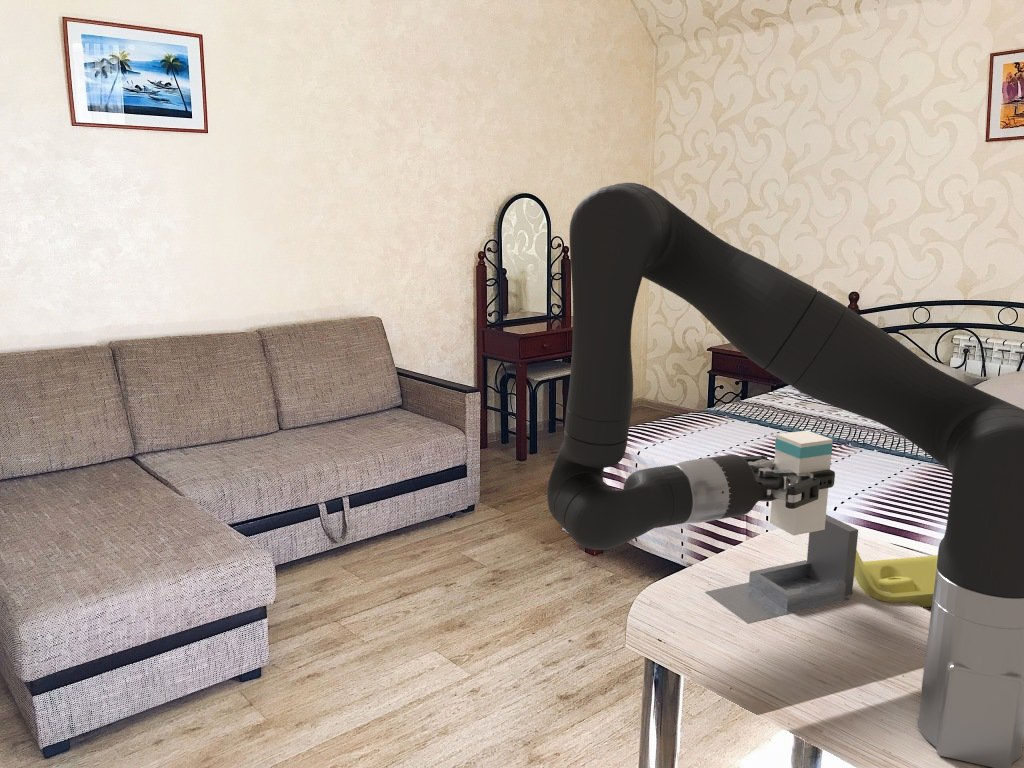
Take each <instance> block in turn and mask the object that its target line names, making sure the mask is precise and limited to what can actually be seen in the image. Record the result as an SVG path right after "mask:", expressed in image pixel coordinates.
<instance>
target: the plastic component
mask: <svg viewBox="0 0 1024 768" xmlns="http://www.w3.org/2000/svg"><path fill="white" fill-rule="evenodd" d="M937 558H938V554H936V555H925V556H913V557H903V558H901V557H898V558H890V559H879V560H878V559H877V560H876V559H875V560H867V561H863V560H862V558H861V556H860V554H859V552H858V550H857V549H856V560H855V570H854V578H855V580H856V581H857V584H858V586H859V587H860V589H861V590H862V591H863V592H864V593H865V594H866V595H867V596H869V597H871V598H872V599H876V600H877V601H882V602H887V603H888V602H889V603H896V602H897V603H898V602H899V603H900V602H902V603H903V602H911V603H912V604H915V605H916V606H918V607H920V608H928V607H930V608H932V600H933V593H934V585H935V577H936V568H937Z"/></svg>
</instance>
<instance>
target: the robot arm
mask: <svg viewBox="0 0 1024 768" xmlns="http://www.w3.org/2000/svg"><path fill="white" fill-rule="evenodd" d="M569 258H570V272H571V273H570V274H571V286H572V289H571V290H572V347H571V348H572V349H571V364H570V374H569V375H570V376H569V385H568V394H567V401H566V403H567V404H566V409H565V410H566V412H565V419H564V420H565V421H564V431H563V441H562V444H561V446H560V448H559V451H558V453H557V455H556V458H555V461H554V465H553V466H552V469H551V472H550V475H549V479H548V482H547V487H546V488H547V489H546V490H547V491H546V495H547V496H546V497H547V498H546V499H547V505H548V510H549V513H550V514H551V516H552V517H553V518H554V520H555V521H556V522H557V523H558V524H559V525H560V526H561V527H562V528H563V529H564V530H565V531H566V533H568V534H569V536H570V537H571V538H572V539H573V540H574V541H575V542H576V543H577V544H579V546H581V547H583V548H586V549H589V550H596V551H604V550H606V551H607V550H610V549H614V548H617V547H620V546H622V545H624V544H626V543H628V542H630V541H633V540H634V539H636V538H638V537H640V536H643V535H644V534H646V533H648V532H650V531H651V530H654V529H658V528H664V527H670V526H671V527H672V526H675V525H682V524H683V525H684V524H701V523H707V522H712V521H718V520H724V519H730V518H735V517H740V516H741V517H742V516H745V515H748V514H749V513H750V512H751V511H752V510H753V509H754V508H755V506H756V504H757V503H758V502H766V503H767V502H771V501H772V500H775V499H782V500H785V501H786V504H785V507H786V508H789V509H795V508H797V507H800V506H802V505H805V504H807V503H810V502H812V501H815V500H817V499H818V496H819V490H820V489H825V488H828V489H830V488H833V487H834V485H835V477H836V473H835V470H831V468H830V469H828V470H822V471H816V472H807V473H795V472H793V471H792V470H790V469H784V470H774V467H775V463H774V460H775V458H772V459H769V460H768V457H767V456H766V455H747V456H746V455H744V456H742V455H741V456H740V455H737V454H726V455H717V456H709V457H706V458H705V457H704V458H696V459H689V460H685V461H681V462H677V463H675V464H670V465H662V466H656V467H649V468H642V469H639V470H636V471H634V472H632V473H631V474H629V476H628V477H627V478H626V480H625V481H624V484H623V488H622V489H623V490H622V489H620V490H615V489H613V488H611V487H610V486H609V485H608V484H607V483H606V482H604V470H605V469H606V468H611V467H614V466H617V464H619V463H620V462H621V461H622V459H624V456H625V453H626V450H627V446H628V445H627V444H628V441H629V440H628V439H629V430H630V425H631V424H630V423H631V415H632V409H633V399H634V398H633V396H634V374H633V373H634V372H633V360H632V345H631V344H632V326H633V319H634V311H635V306H636V301H637V297H638V295H639V290H640V286H641V283H642V280H643V278H644V279H646V280H647V281H650V282H652V283H653V284H655V285H658V286H659V287H661V288H664V289H665V290H667V291H669V292H671V293H672V294H675V295H676V296H678V297H679V298H681V299H683V300H684V301H685V302H687V303H689V304H690V305H691V306H693V307H694V308H695V309H696V310H697V311H698V312H700V314H702V316H704V318H705V319H706V320H708V321H709V322H710V324H711V325H713V327H714V328H715V329H716V330H717V331H718V332H719V333H720V334H721V335H722V337H724V338H725V339H726V340H727V342H729V343H730V344H731V345H732V346H733V347H734V348H736V350H738V351H739V352H740V353H741V354H743V356H745V357H746V358H748V359H749V360H750V361H751V362H753V363H754V364H756V365H757V366H759V367H760V368H761V369H763V370H765V371H766V372H768V373H770V374H771V375H772V376H775V378H778V379H779V380H781V381H783V382H784V383H785V384H787V385H789V386H790V387H793V389H795V390H798V391H799V392H800V393H803V394H804V395H807V396H809V397H811V398H813V399H814V400H818V401H820V402H822V403H825V404H826V405H830V406H832V407H834V408H838V409H840V410H843V411H845V412H848V413H852V414H854V415H857V416H861V417H863V418H866V419H868V420H872V421H874V422H876V423H879V424H881V425H883V426H885V427H887V428H888V429H890V430H893V431H894V432H895V433H897V434H898V435H901V436H902V437H904V438H905V439H906V440H908V441H909V442H911V443H912V444H914V445H915V446H916V447H917V448H919V449H920V450H922V451H924V452H925V453H926V454H928V455H929V456H931V457H932V459H934V460H936V461H937V462H938V463H939V464H941V465H942V466H943V467H944V468H945V469H946V470H947V471H949V472H950V474H951V476H952V478H951V488H950V489H951V490H950V496H949V497H950V498H949V504H948V512H947V513H948V514H947V519H946V525H945V526H946V527H945V532H944V536H943V538H942V539H941V540H940V542H939V545H938V548H937V549H938V551H937V555H938V558H937V568H936V577H935V585H934V593H933V600H932V606H931V607H930V608H931V609H930V615H929V616H930V617H929V626H928V634H927V639H926V640H927V643H926V651H925V658H924V664H923V665H924V667H923V674H922V675H923V676H922V681H921V683H922V684H921V692H920V700H919V701H920V702H919V709H918V717H917V727H918V729H919V732H920V733H921V735H922V736H923V738H925V740H926V741H927V742H928V743H930V744H931V745H932V746H933V747H935V749H936V754H937V755H938V756H940V757H944V758H948V759H952V760H958V761H963V762H967V763H972V764H976V765H980V766H984V767H985V766H986V767H990V768H1012V766H1013V765H1012V764H1013V763H1015V762H1016V761H1018V760H1019V758H1020V757H1021V756H1022V753H1023V747H1024V408H1022V407H1019V406H1017V405H1014V404H1012V403H1010V402H1008V401H1006V400H1003V399H1001V398H999V397H996V396H995V395H992V394H990V393H988V392H985V391H984V390H981V389H978V388H977V387H975V386H972V385H970V384H968V383H966V382H964V381H962V380H960V379H958V378H956V377H954V376H952V375H949V373H946V372H944V371H942V370H941V369H939V368H937V367H935V366H934V365H932V364H930V363H928V362H927V361H926V360H924V359H923V358H921V357H920V356H919V355H918V354H916V353H915V352H913V351H912V350H911V349H909V348H908V347H906V346H905V345H904V344H903V343H902V342H900V341H898V340H897V339H896V338H895V337H893V336H891V335H890V334H889V333H887V331H884V330H883V329H882V328H881V327H879V326H877V325H876V324H874V323H872V322H871V321H870V320H868V319H866V318H864V317H863V316H861V315H860V314H859V313H857V312H855V311H854V310H852V309H851V308H850V307H848V306H846V305H845V304H843V303H841V302H840V301H838V300H836V299H834V298H833V297H832V296H829V295H827V294H825V293H824V292H822V290H821V291H820V290H818V289H817V288H816V287H814V286H812V285H810V284H808V283H806V282H804V281H802V280H801V279H799V278H797V277H795V276H793V275H792V274H790V273H788V272H785V271H784V270H782V269H780V268H779V267H776V266H774V265H772V264H770V263H768V262H766V261H764V260H763V259H760V258H758V257H756V256H754V255H753V254H751V253H748V252H746V251H744V250H741V249H739V248H737V247H736V246H733V245H731V244H730V243H728V242H727V241H725V240H723V239H722V238H720V237H718V236H717V235H716V234H714V233H712V232H711V231H710V230H708V229H707V228H706V227H704V225H702V224H700V223H699V222H697V221H696V220H694V219H693V218H692V217H690V216H689V215H688V214H687V213H685V212H684V211H682V210H681V209H680V208H678V207H677V206H676V205H674V204H673V203H672V202H670V201H669V200H668V199H666V198H665V197H664V196H663V195H661V194H660V193H659V192H657V191H656V190H654V189H652V188H650V187H649V186H646V185H645V184H641V183H637V182H622V183H616V184H613V185H612V184H611V185H607V186H603V187H600V188H598V189H596V190H593V191H592V192H590V193H588V194H587V195H585V196H584V197H583V198H582V200H581V201H580V202H579V203H578V204H577V206H576V208H575V209H574V211H573V214H572V216H571V220H570V222H569ZM784 477H786V488H785V489H784ZM797 480H803V481H801V482H798V483H796V481H797Z"/></svg>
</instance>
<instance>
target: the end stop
mask: <svg viewBox="0 0 1024 768" xmlns="http://www.w3.org/2000/svg"><path fill="white" fill-rule="evenodd" d="M858 534H859V529H857V528H856V527H854V526H851V525H849V524H848V523H845V522H843V521H841V520H839V519H836V518H835V517H832V516H830V515H828V514H826V520H825V530H820V531H815V532H809V533H808V545H807V555H806V561H808V562H810V563H811V566H810V577H811V578H813V579H815V580H817V581H818V582H820V583H822V584H823V583H828V582H832V581H837V580H842V581H844V582H845V583H846V588H845V597H848V596H852V595H853V590H854V589H853V588H854V578H855V576H854V570H855V560H856V550H857V549H858V538H859V535H858Z"/></svg>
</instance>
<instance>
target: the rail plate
mask: <svg viewBox="0 0 1024 768" xmlns="http://www.w3.org/2000/svg"><path fill="white" fill-rule="evenodd" d="M810 566H811V563H810V562H808V561H807V559H806V560H801V561H800V560H799V561H795V562H789V563H786V564H781V565H780V564H779V565H776V566H771V567H766V568H762V569H761V568H760V569H756V570H752V571H749V581H748V582H745V583H739V584H736V585H731V586H724V587H721V588H717V589H711V590H707V591H704V593H705V595H708V597H710V598H712V599H713V600H714V601H716V602H717V603H718V604H720V605H722V606H723V608H725V609H727V611H729V612H731V613H732V614H734V615H735V616H736V617H738V618H739V619H741V620H742V621H744V623H746V624H751V623H752V624H753V623H755V622H760V621H765V620H769V619H773V618H777V617H781V616H786V615H791V614H795V613H798V612H803V611H806V610H807V611H808V610H811V609H816V608H820V607H824V606H829V605H833V604H837V603H841V602H845V601H850V599H849V598H847V597H846V596H845V588H846V583H845V582H844V581H842V580H837V581H832V582H828V583H823V584H822V583H820V582H818V581H817V580H815V579H813V578H811V577H810Z"/></svg>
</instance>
